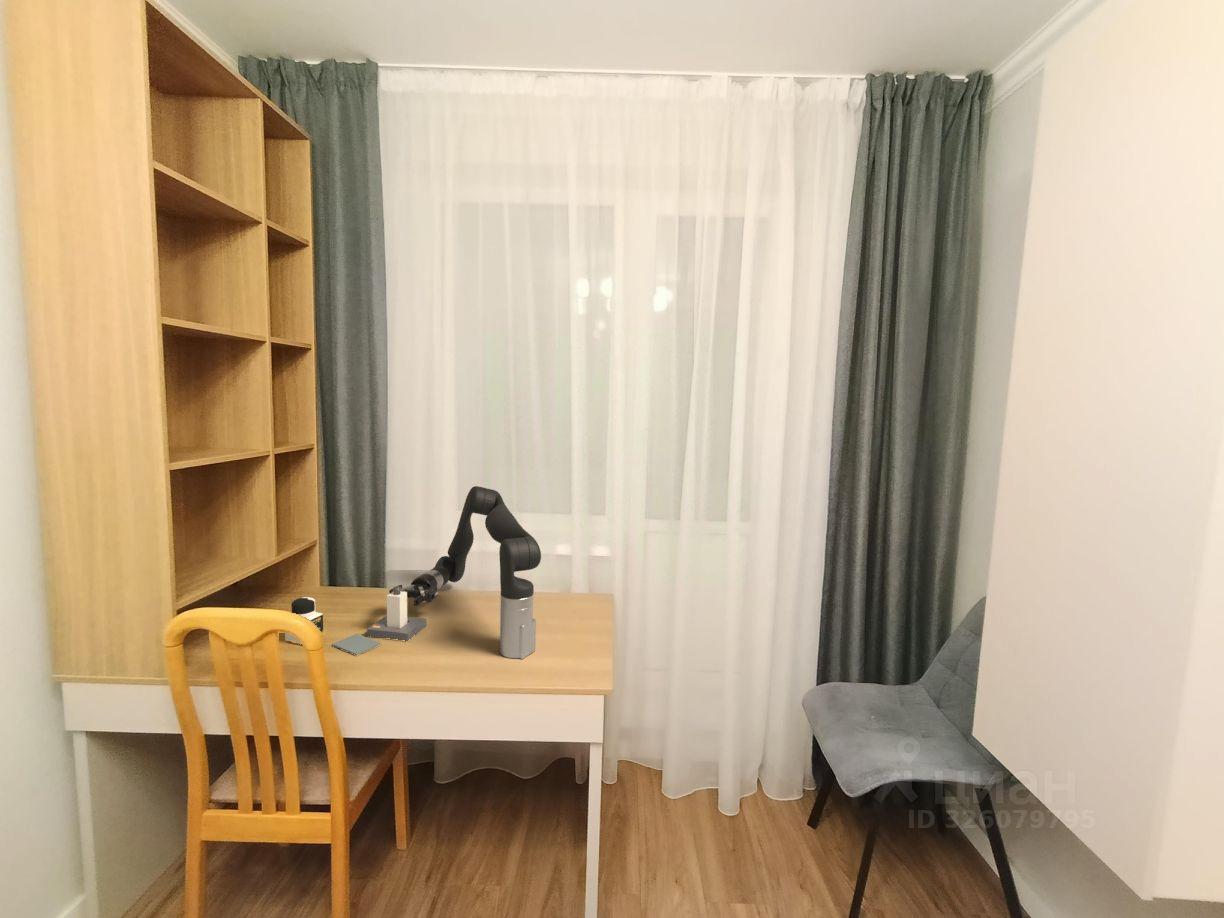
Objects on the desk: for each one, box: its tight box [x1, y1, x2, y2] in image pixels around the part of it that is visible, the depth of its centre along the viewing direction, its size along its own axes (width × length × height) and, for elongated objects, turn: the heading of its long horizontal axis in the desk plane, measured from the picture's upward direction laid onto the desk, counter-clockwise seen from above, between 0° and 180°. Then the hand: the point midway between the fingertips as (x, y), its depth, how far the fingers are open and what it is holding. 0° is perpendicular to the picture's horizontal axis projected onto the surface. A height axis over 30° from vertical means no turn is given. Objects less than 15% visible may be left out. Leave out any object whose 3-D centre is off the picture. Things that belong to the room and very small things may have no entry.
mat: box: [331, 633, 382, 656], centre depth 159 cm, size 11×8×1 cm
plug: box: [386, 585, 408, 628], centre depth 168 cm, size 4×4×14 cm
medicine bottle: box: [284, 596, 324, 646], centre depth 162 cm, size 7×7×12 cm
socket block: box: [366, 614, 427, 642], centre depth 169 cm, size 13×11×3 cm
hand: (401, 601), depth 171 cm, fingers open, 8 cm apart
